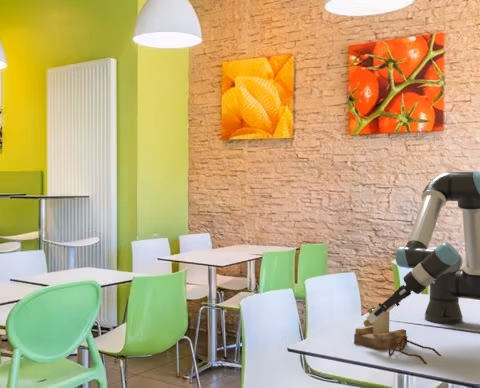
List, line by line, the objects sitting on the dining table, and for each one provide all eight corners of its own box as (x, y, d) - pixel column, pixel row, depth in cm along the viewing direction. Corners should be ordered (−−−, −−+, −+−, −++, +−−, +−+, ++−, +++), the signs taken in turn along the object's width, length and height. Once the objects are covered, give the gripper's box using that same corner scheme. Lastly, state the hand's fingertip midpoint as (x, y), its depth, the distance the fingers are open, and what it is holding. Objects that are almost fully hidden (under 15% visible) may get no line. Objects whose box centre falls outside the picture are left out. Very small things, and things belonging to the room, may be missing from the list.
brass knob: (359, 333, 218) (359, 306, 218) (371, 330, 223) (371, 304, 223) (375, 337, 213) (376, 310, 213) (387, 334, 217) (387, 307, 217)
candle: (389, 337, 200) (389, 308, 200) (373, 336, 201) (373, 307, 201) (388, 333, 206) (389, 305, 206) (372, 332, 207) (373, 304, 207)
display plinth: (380, 337, 213) (380, 323, 213) (407, 344, 203) (407, 330, 203) (354, 342, 204) (354, 328, 204) (381, 350, 195) (381, 335, 195)
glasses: (403, 349, 198) (403, 335, 198) (441, 357, 190) (442, 341, 190) (387, 357, 187) (387, 342, 187) (427, 365, 179) (427, 349, 179)
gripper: (418, 292, 185) (371, 332, 193) (434, 282, 207) (391, 319, 214) (402, 274, 188) (356, 314, 195) (419, 266, 210) (377, 303, 217)
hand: (374, 317), depth 205 cm, fingers open, 13 cm apart
